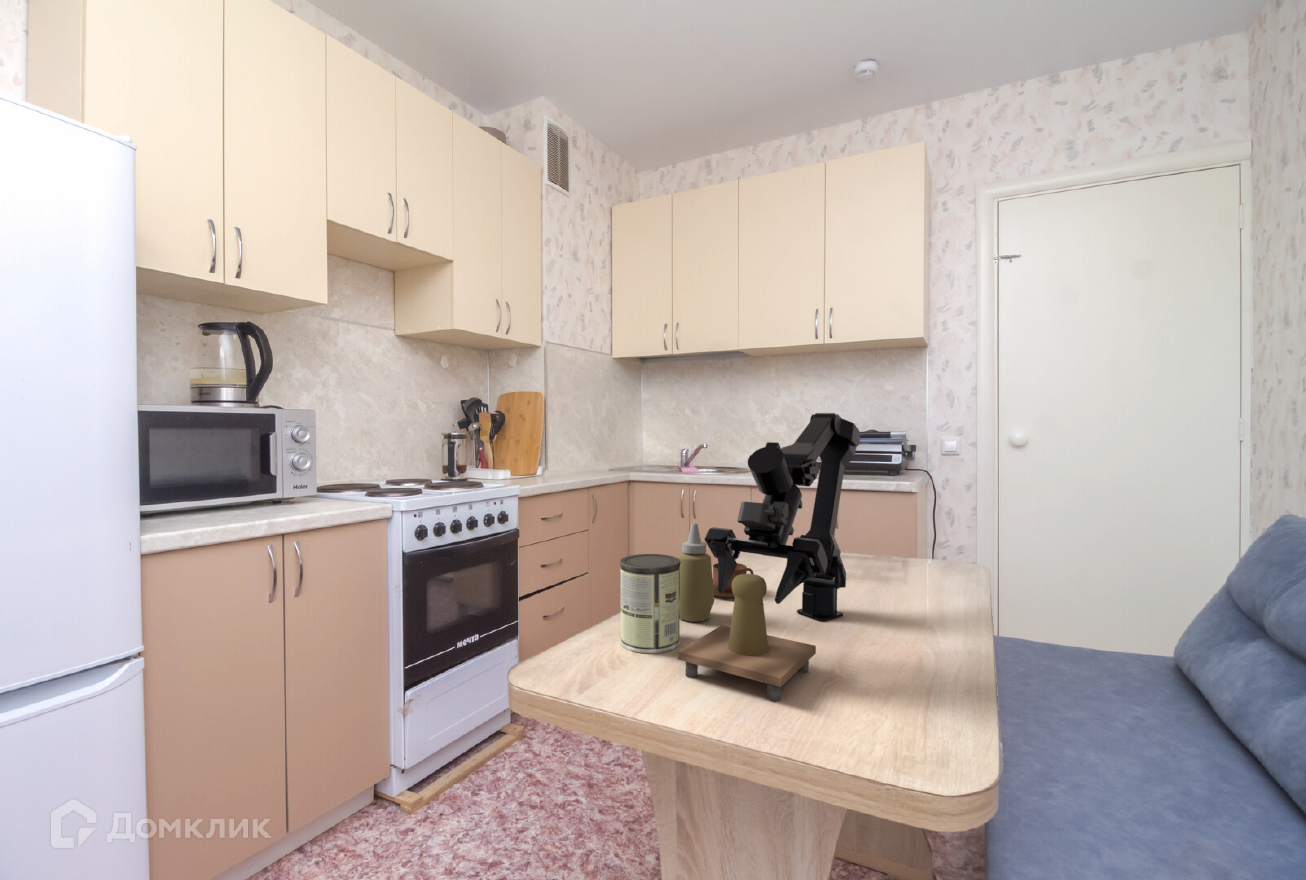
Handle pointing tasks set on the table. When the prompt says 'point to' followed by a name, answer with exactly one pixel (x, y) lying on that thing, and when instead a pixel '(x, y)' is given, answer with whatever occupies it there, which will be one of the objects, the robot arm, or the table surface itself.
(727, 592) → the cup and saucer
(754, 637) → the olive pepper shaker
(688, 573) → the squeeze bottle
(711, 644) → the small wooden stand
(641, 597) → the coffee can
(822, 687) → the table surface
